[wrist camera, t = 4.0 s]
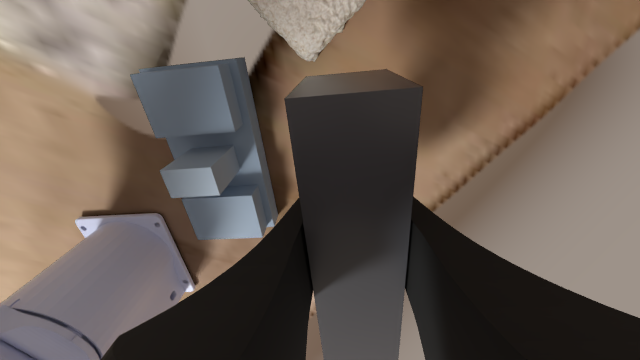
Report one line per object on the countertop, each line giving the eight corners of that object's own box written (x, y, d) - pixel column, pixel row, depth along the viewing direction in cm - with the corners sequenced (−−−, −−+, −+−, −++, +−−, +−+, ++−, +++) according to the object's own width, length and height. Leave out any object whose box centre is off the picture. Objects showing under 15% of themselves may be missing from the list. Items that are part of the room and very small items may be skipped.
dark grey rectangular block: (380, 278, 14) (397, 367, 10) (328, 279, 15) (324, 366, 11) (386, 68, 9) (423, 86, 5) (306, 76, 10) (284, 98, 6)
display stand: (278, 215, 21) (262, 259, 17) (210, 218, 22) (178, 262, 18) (244, 57, 16) (208, 62, 11) (154, 67, 16) (87, 75, 12)
